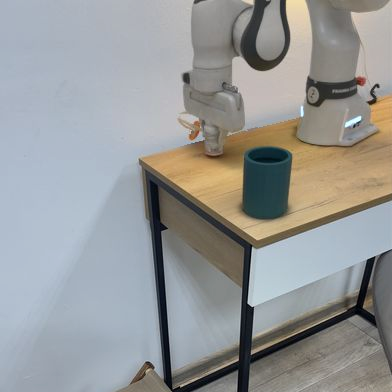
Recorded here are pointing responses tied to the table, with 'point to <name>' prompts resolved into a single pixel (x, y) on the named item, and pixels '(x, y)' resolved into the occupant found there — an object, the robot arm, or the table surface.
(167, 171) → the table surface
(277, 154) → the jar
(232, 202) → the table surface
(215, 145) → the pill bottle
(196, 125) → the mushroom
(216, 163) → the table surface
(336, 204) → the table surface
